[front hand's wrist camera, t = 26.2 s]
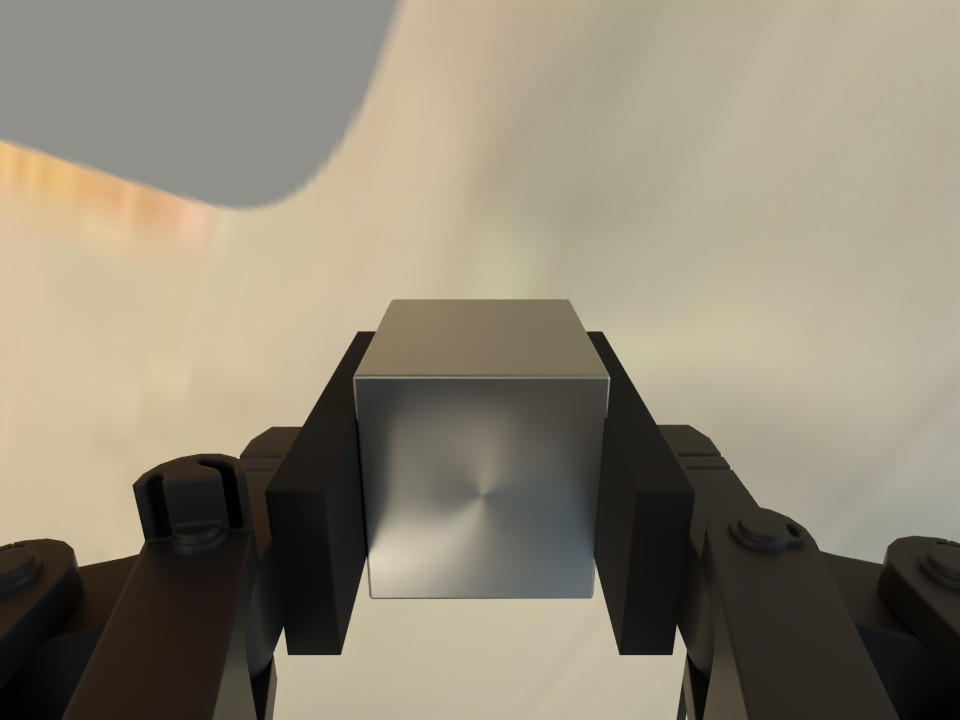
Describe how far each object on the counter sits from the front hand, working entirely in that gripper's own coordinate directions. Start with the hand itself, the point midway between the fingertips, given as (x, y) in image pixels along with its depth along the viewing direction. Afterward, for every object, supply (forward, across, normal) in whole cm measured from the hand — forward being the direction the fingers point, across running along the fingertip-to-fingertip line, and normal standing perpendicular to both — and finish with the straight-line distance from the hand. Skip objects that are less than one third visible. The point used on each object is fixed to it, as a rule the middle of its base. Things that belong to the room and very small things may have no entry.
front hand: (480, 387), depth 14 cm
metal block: (0, 0, 0) cm, 0 cm away
